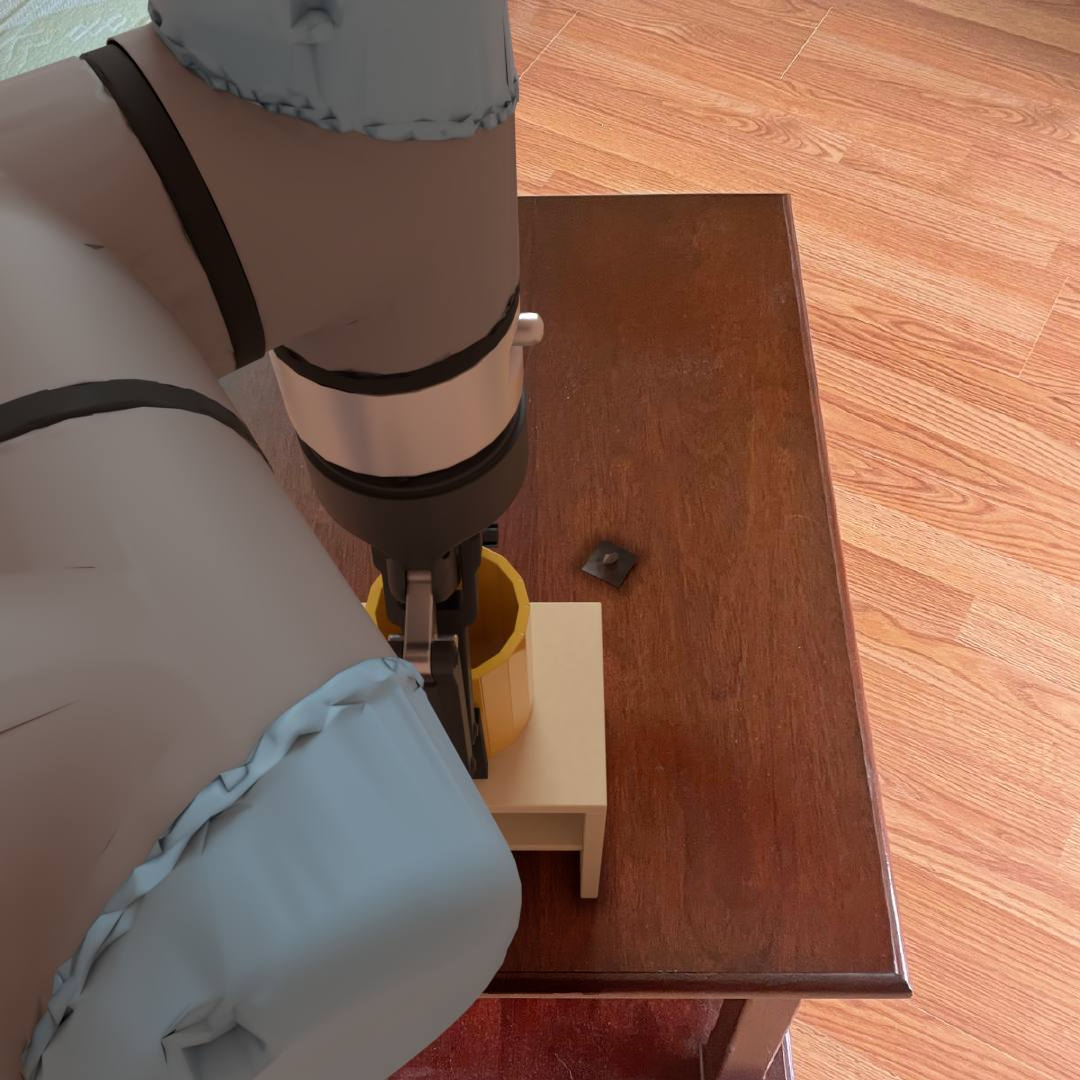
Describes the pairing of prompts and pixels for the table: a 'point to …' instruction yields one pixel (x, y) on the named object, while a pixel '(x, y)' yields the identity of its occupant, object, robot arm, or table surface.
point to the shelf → (558, 745)
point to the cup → (491, 649)
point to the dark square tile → (610, 563)
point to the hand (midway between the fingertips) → (463, 695)
